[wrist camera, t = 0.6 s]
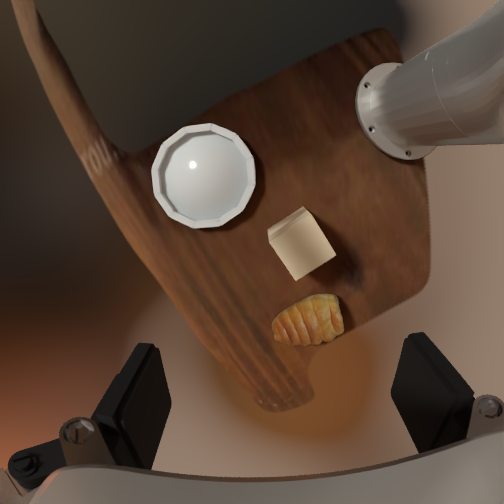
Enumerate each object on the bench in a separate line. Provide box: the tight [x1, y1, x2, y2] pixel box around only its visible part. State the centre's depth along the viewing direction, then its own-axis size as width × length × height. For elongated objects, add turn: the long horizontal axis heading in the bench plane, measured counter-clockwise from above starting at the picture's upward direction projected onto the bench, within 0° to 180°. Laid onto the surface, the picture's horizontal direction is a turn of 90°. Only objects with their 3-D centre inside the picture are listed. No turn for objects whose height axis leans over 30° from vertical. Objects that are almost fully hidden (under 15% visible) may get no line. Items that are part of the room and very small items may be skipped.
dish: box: [151, 123, 256, 228], centre depth 34 cm, size 12×12×1 cm
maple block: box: [268, 207, 336, 281], centre depth 33 cm, size 5×5×6 cm
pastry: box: [272, 294, 344, 346], centre depth 37 cm, size 9×7×4 cm
